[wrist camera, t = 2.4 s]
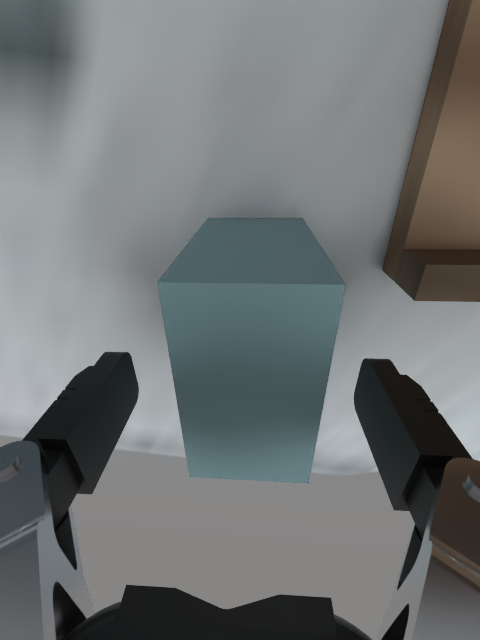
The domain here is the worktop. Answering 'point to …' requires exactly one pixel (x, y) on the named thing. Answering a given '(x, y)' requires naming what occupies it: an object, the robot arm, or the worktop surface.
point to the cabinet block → (251, 346)
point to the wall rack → (444, 174)
